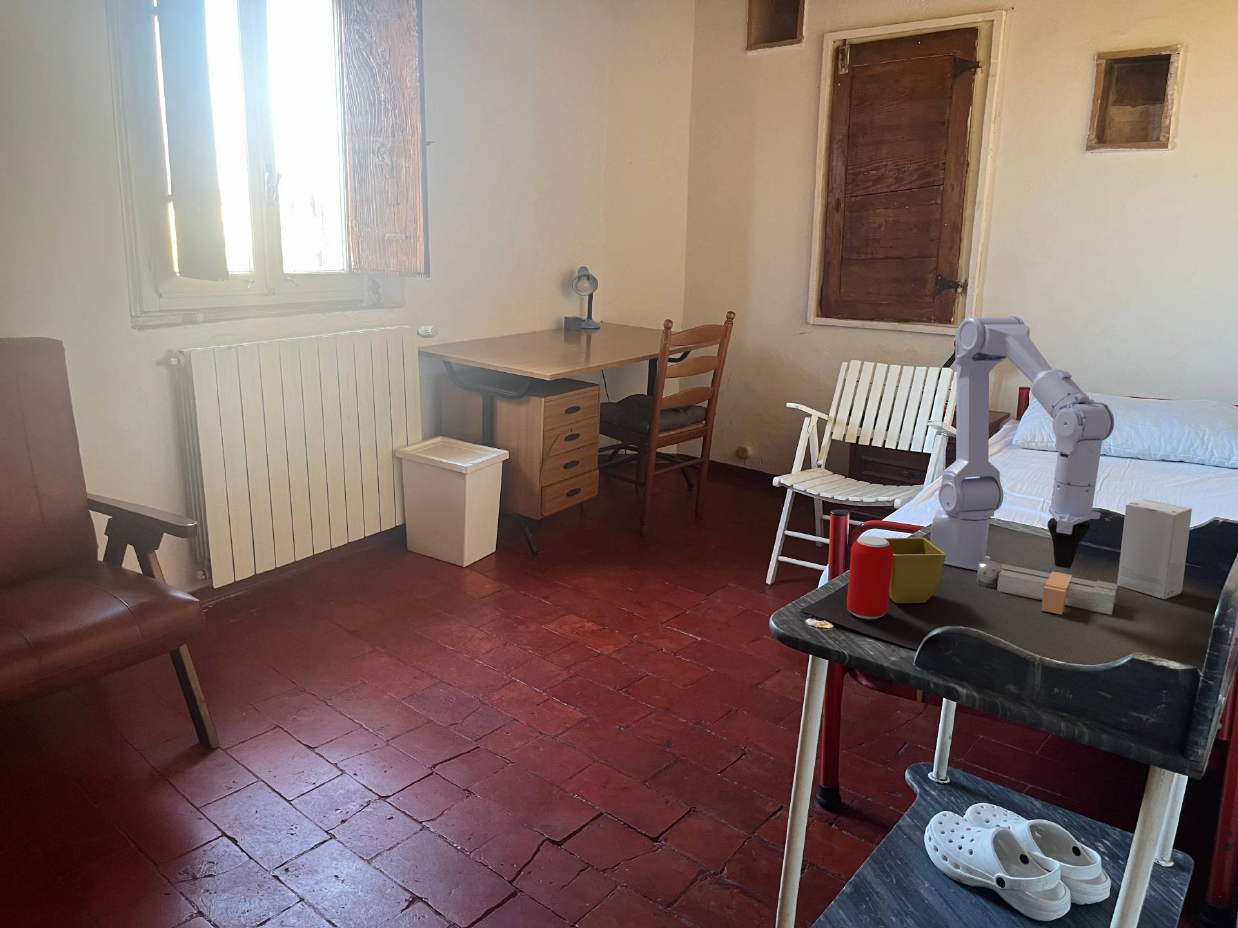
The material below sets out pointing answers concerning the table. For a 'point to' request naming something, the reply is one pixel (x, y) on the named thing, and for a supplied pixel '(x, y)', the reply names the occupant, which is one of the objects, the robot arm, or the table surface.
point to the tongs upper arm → (991, 570)
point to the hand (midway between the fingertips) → (1062, 566)
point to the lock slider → (1055, 592)
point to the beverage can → (869, 577)
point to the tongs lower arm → (1075, 594)
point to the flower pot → (914, 569)
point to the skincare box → (1154, 548)
